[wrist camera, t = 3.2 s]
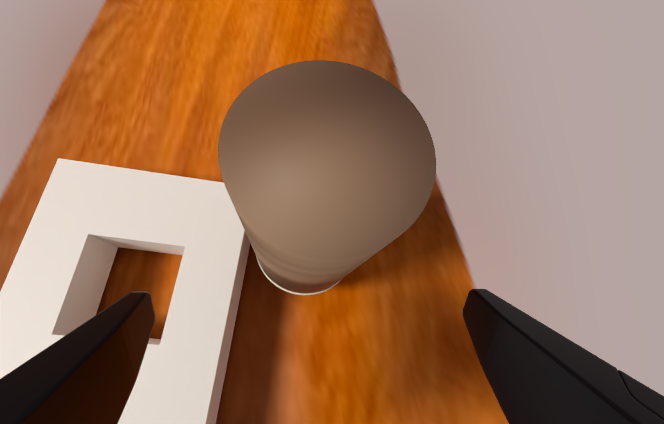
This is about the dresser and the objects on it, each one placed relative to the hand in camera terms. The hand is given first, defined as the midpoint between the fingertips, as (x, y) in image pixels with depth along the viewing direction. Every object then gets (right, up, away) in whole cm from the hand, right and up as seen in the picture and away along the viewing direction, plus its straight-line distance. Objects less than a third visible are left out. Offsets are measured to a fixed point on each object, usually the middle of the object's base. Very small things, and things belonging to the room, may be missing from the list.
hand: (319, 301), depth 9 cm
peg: (-1, 0, +11) cm, 11 cm away
